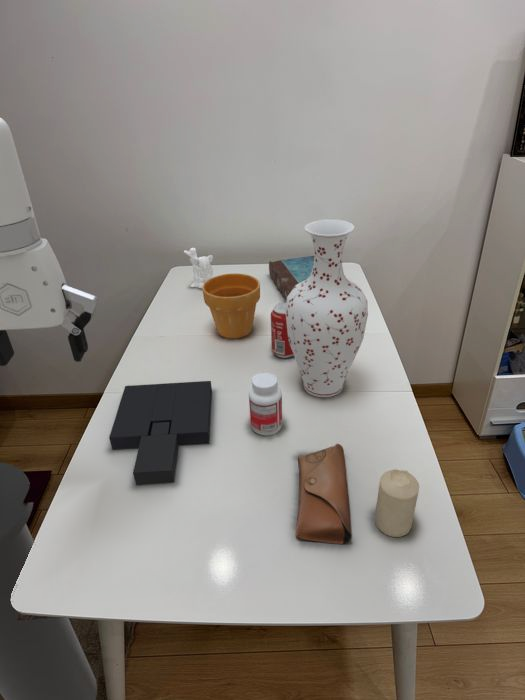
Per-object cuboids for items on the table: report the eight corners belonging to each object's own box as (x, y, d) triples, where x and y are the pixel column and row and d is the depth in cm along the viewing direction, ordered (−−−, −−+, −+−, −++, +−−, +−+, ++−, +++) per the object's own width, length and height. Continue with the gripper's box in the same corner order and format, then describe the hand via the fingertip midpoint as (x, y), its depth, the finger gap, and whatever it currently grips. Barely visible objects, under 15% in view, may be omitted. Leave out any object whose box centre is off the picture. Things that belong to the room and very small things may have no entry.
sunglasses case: (295, 453, 87) (315, 429, 84) (328, 468, 89) (349, 445, 85) (294, 540, 72) (318, 515, 69) (334, 557, 74) (360, 533, 70)
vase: (298, 415, 97) (299, 247, 78) (277, 370, 110) (274, 218, 92) (373, 401, 100) (392, 236, 81) (344, 359, 113) (354, 209, 94)
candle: (367, 519, 75) (372, 473, 70) (391, 502, 78) (398, 456, 73) (394, 544, 71) (403, 497, 66) (419, 524, 74) (428, 478, 69)
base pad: (112, 449, 90) (108, 437, 89) (127, 397, 104) (125, 385, 102) (209, 443, 91) (207, 431, 89) (212, 392, 104) (210, 380, 103)
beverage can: (303, 351, 117) (303, 306, 110) (286, 362, 113) (286, 317, 106) (283, 342, 120) (282, 299, 114) (266, 353, 117) (264, 308, 110)
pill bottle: (265, 411, 98) (263, 366, 92) (288, 424, 95) (288, 378, 89) (244, 427, 94) (240, 381, 89) (267, 441, 91) (265, 394, 85)
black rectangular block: (135, 485, 83) (132, 472, 81) (146, 435, 93) (144, 423, 92) (174, 482, 83) (171, 470, 81) (180, 433, 94) (178, 421, 92)
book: (269, 276, 155) (268, 261, 152) (321, 269, 158) (321, 254, 156) (289, 307, 136) (289, 291, 134) (348, 298, 140) (349, 283, 137)
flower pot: (198, 340, 123) (193, 294, 116) (218, 314, 134) (214, 270, 127) (252, 347, 119) (249, 300, 112) (268, 320, 130) (266, 275, 123)
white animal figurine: (185, 290, 148) (180, 252, 142) (191, 280, 154) (186, 244, 148) (212, 290, 147) (209, 253, 141) (217, 281, 153) (214, 244, 147)
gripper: (-91, 249, 53) (-35, 378, 62) (70, 241, 53) (103, 370, 62) (-57, 227, 59) (-10, 347, 68) (87, 220, 59) (115, 340, 69)
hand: (44, 358), depth 65 cm, fingers open, 9 cm apart
